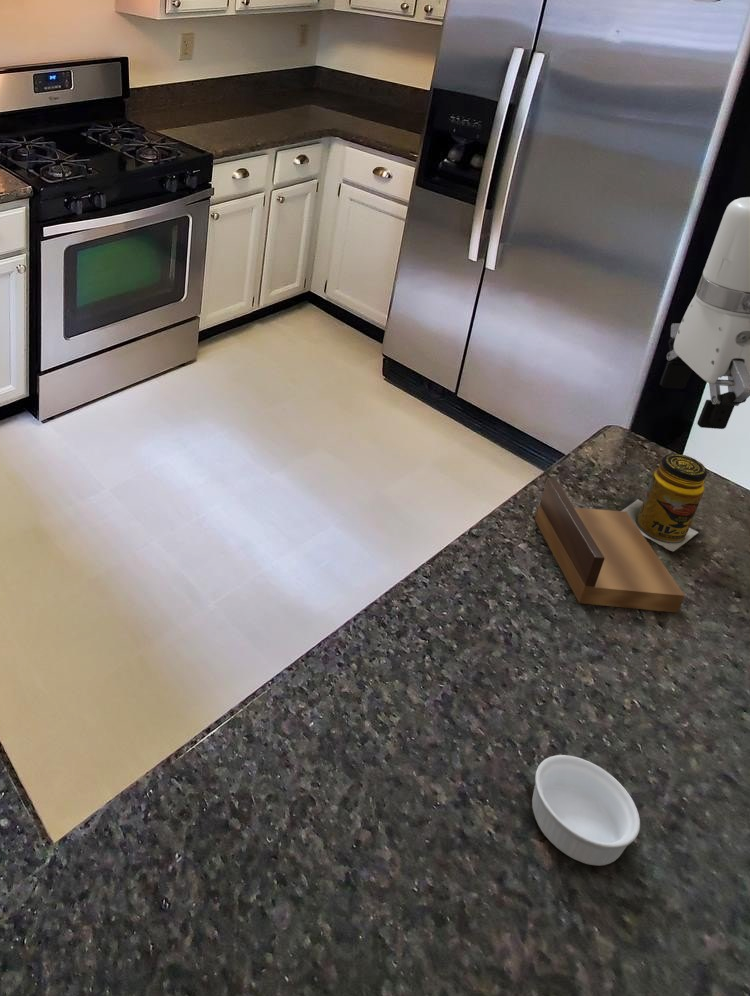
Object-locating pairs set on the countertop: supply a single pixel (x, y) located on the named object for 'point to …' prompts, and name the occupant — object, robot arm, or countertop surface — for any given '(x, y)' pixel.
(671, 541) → the condiment
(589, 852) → the ramekin
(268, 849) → the countertop surface
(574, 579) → the shelf
